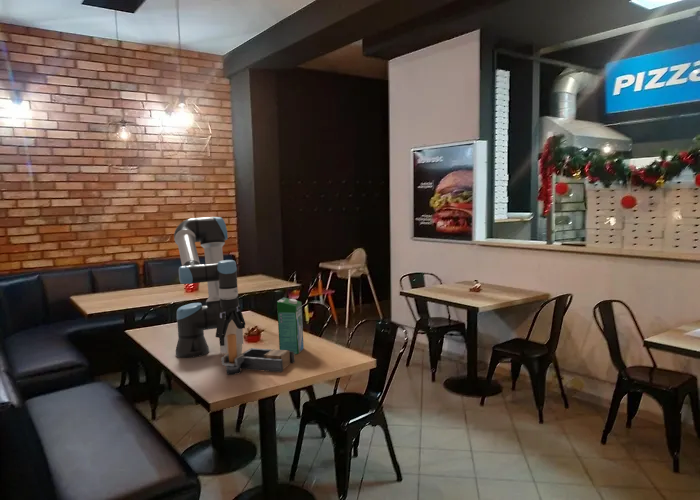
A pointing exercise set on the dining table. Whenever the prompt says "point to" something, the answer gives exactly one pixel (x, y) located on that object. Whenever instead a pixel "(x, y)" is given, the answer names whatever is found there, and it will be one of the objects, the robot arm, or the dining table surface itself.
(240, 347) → the water bottle
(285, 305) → the milk carton
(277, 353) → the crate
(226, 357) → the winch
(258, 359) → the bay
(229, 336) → the handle peg
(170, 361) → the dining table surface
